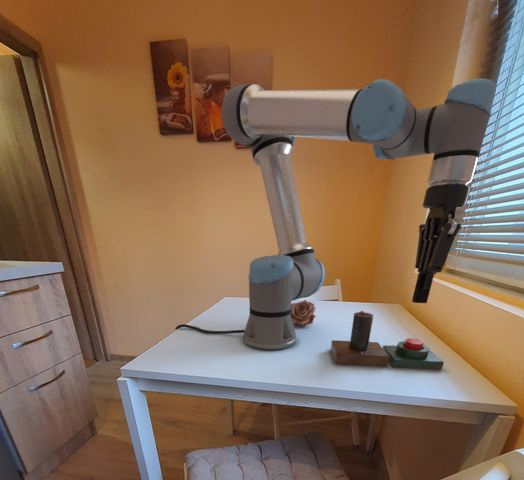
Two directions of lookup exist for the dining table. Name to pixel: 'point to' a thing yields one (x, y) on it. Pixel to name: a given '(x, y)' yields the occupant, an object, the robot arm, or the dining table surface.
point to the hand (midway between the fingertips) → (419, 302)
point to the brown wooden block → (359, 355)
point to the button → (413, 344)
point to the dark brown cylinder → (361, 331)
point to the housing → (412, 357)
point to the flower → (302, 312)
